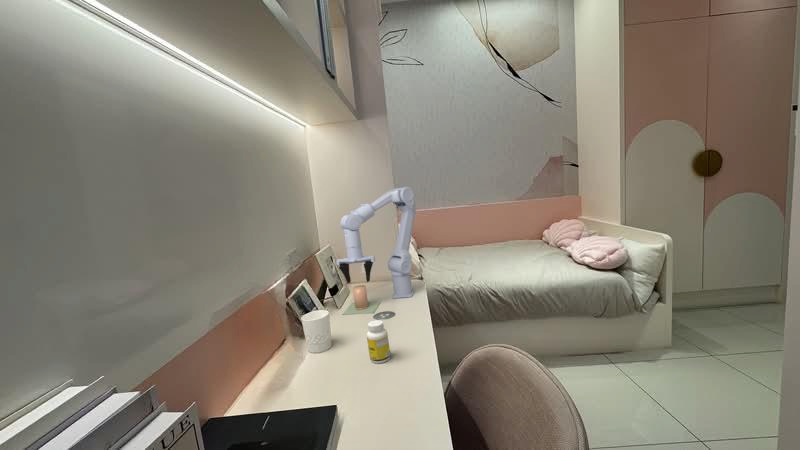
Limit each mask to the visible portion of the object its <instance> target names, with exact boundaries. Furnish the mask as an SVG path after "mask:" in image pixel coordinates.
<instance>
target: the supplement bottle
mask: <svg viewBox="0 0 800 450" xmlns="http://www.w3.org/2000/svg"><path fill="white" fill-rule="evenodd" d="M367 329H368V332H367V333H366V340H367V345H368V346H367V347H368V348H367V349H368V353H369V360H370V361H371V362H372V363H373V364H383V363H386V362H388V361H390V359H391V349H390V343H389V334H388V331H387V329H386V328H385V325H384V320H376V319H374V320H372V321H371V320H370V321H369V322H368V323H367Z"/></svg>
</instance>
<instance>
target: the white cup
mask: <svg viewBox="0 0 800 450" xmlns="http://www.w3.org/2000/svg"><path fill="white" fill-rule="evenodd" d="M300 319H301V325H302V328H303V334H304V338H305V341H306V346H307V349H308V350H307V351H308V352H309V353H312V354H319V353H323V352H325V351H328V350H330V348H331V347H332V345H333V343H332V331H331V321H330V320H331V319H330V311H328V310H321V309H320V310H313V311H310V312H308V313H305V314H303V315H302V316H301V317H300Z"/></svg>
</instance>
